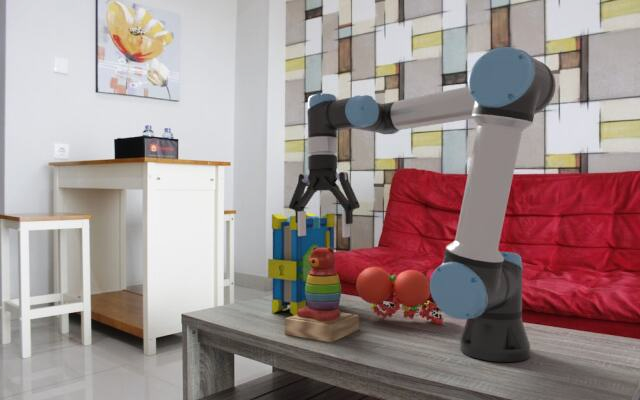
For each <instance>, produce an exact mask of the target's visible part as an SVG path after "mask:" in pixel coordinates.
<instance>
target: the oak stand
mask: <svg viewBox="0 0 640 400" xmlns="http://www.w3.org/2000/svg"><path fill="white" fill-rule="evenodd" d="M359 326H360V316H359V314H355V313H350V312H349V313H348V312H343V311H342V312H341V311H340V316H339V317H338V318H336V319H334V320H330V321H318V320H316V319H314V318H310V317H300V316H298V315H292V316H288V317H285V318H284V335H288V336H294V337H298V338H304V339H311V340H316V341H320V342H326V343H333V342H335V341H337V340H340V339H342V338H344V337H347V336H349V335H351V334H353V333H354V332H357V331H359V330H360V327H359Z"/></svg>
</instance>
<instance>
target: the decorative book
mask: <svg viewBox="0 0 640 400" xmlns="http://www.w3.org/2000/svg"><path fill="white" fill-rule="evenodd" d="M335 217H336V214H335V213H334V212H333V213H332V212H331V213H326V214H325V215H323V216H321V217H320V216H319V215H315V214H314V213H312V212H306V236H298V223H296V215H290V216H289V217H288V218H287V217H286V216H285V215H283V214H281V213H277V214H276V213H274V214H271V229H272V258H271V259H269V258H268V259H267V278H270V279H272V299H271V313H272V314H275V313H279V312H282V311H284V310H286V309H288V306H289V312H290V314H292V316H294V315H297V312H298V310H299V309H301V308H303V307H306V306H308V304H307V299H306V294H305V292H306V291H305V287H306V283H307V277H308V275H309V272H310V270H311V269H313V268H312V267H311V266H310V263H309V256H310V254H311V253H312V251H313V248H314V247H317V248H332V249H333V250H334V251H335V227H336V225H335V223H336V221H335V220H336V219H335ZM333 269H334V270H335V265H334V266H333Z"/></svg>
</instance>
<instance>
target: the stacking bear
mask: <svg viewBox="0 0 640 400" xmlns="http://www.w3.org/2000/svg"><path fill="white" fill-rule="evenodd" d="M309 263H310V266H311V267H312V268H313V269H311V270H310V272H309V275H308V277H307V283H306V287H305V291H306V292H305V294H306V299H307V304H308V306H306V307H303V308H301V309H299V310H298V312H297V315H298V316H300V317H310V318H314V319H316V320H318V321H330V320H334V319H336V318H338V317H339V316H340V312H341V310H340V308H339V306H340V302H341V300H340V299H341V296H342V287H341V286H342V285H341V283H340V277H339V274H338V272H337V271H336V269H335V268H334V269H333V266H334V267H335V263H336V256H335V249H334V250H333V249H332V248H317V247H314V248H313V251H312V253H311V254H310V256H309Z"/></svg>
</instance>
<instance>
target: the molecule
mask: <svg viewBox="0 0 640 400" xmlns="http://www.w3.org/2000/svg"><path fill="white" fill-rule="evenodd" d="M355 287H356V289H355V290H356V291H357V294H358V295H359V297H360V298H361V299H362V300H363V301H364V302H366V303H369V304H370V310H373V313H375V314H376V316H377V317H379V316H382V319H384V320H385V319H386V317H387V318H388V317H389V318H392V316H393V315H394V314H396V313H397V312H398V311H399V310H400V309H401V308H402V310H403V317H404V318H405V319H406V320H407V319H408V318H409V319H411V320H413V319H414V317H418V316H420V317H421V319H426V320H427V321H431V322H432V324H435V323H436V324H437V325H443V324H444V319H443V317H442V316H443V315H442V314H441V313H443V312H442V311H441V310H440V309H439V308H438V307H437V304H436V303H435V301H434V300H433V299H432V302H431V300H428V299H429V298H430V294H431V292H430V280H429V279H428V278H427V276H426V275H425V274H424V273H422V272H421V271H419V270H415V269H407V270H404V271H402V272H400V273H399V274H398V275H396V274H393V275H390V274H389V272H387V271H386V270H385V269H383V268H382V267H378V266H371V267H369V266H368V267H367V268H364V270H362V271H361V272H360V273H359V275H358V276H357V279H356V284H355ZM391 295H393V298H392V303H391V302H389V304H386V303H384V302H385V301H387V300H388V299H389V297H391ZM426 302H427V303H426ZM401 305H402V306H401ZM400 306H401V307H400ZM419 307H420V308H419ZM439 312H441V313H440V314H438V313H439ZM417 313H418V314H417ZM430 313H431V315H430Z"/></svg>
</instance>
